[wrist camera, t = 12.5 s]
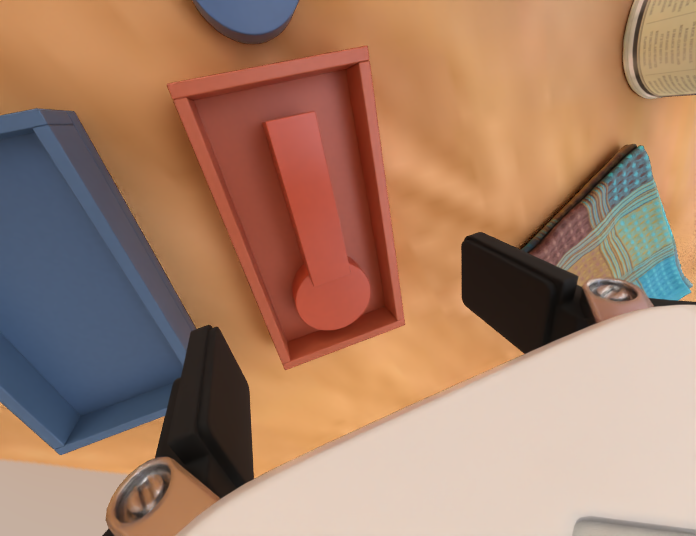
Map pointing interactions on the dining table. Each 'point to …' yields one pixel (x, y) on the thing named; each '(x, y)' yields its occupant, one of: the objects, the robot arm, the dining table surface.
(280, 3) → the blue spoon
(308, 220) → the terracotta spoon
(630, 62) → the coffee can
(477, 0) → the dining table surface
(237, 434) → the robot arm
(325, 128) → the terracotta tray
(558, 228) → the dish towel
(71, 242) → the blue tray
